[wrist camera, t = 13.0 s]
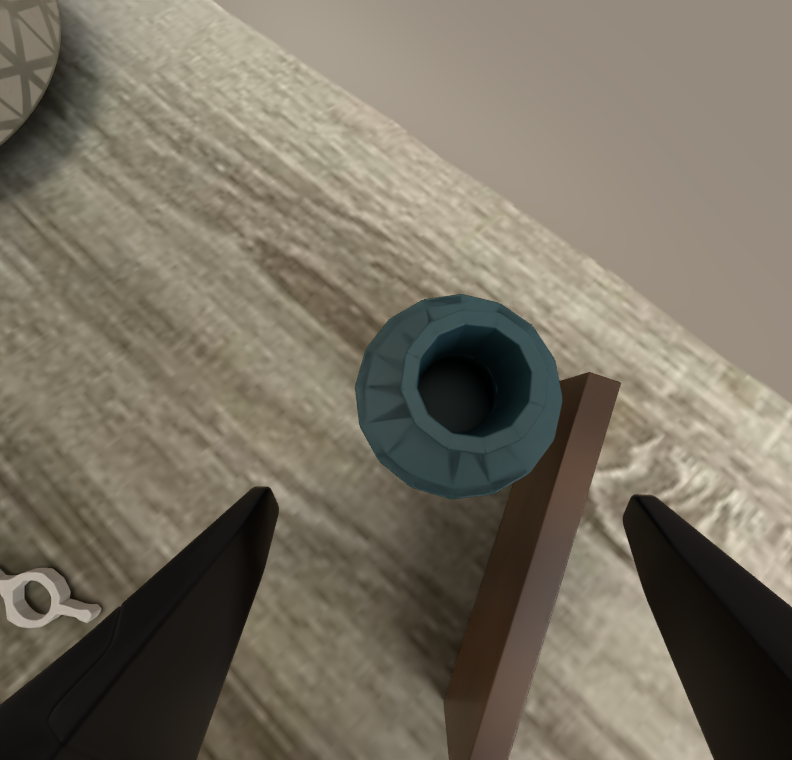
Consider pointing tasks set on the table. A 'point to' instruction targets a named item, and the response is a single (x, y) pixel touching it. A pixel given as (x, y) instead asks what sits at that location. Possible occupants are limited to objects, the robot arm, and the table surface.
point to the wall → (525, 578)
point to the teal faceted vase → (458, 396)
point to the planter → (26, 58)
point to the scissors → (60, 599)
